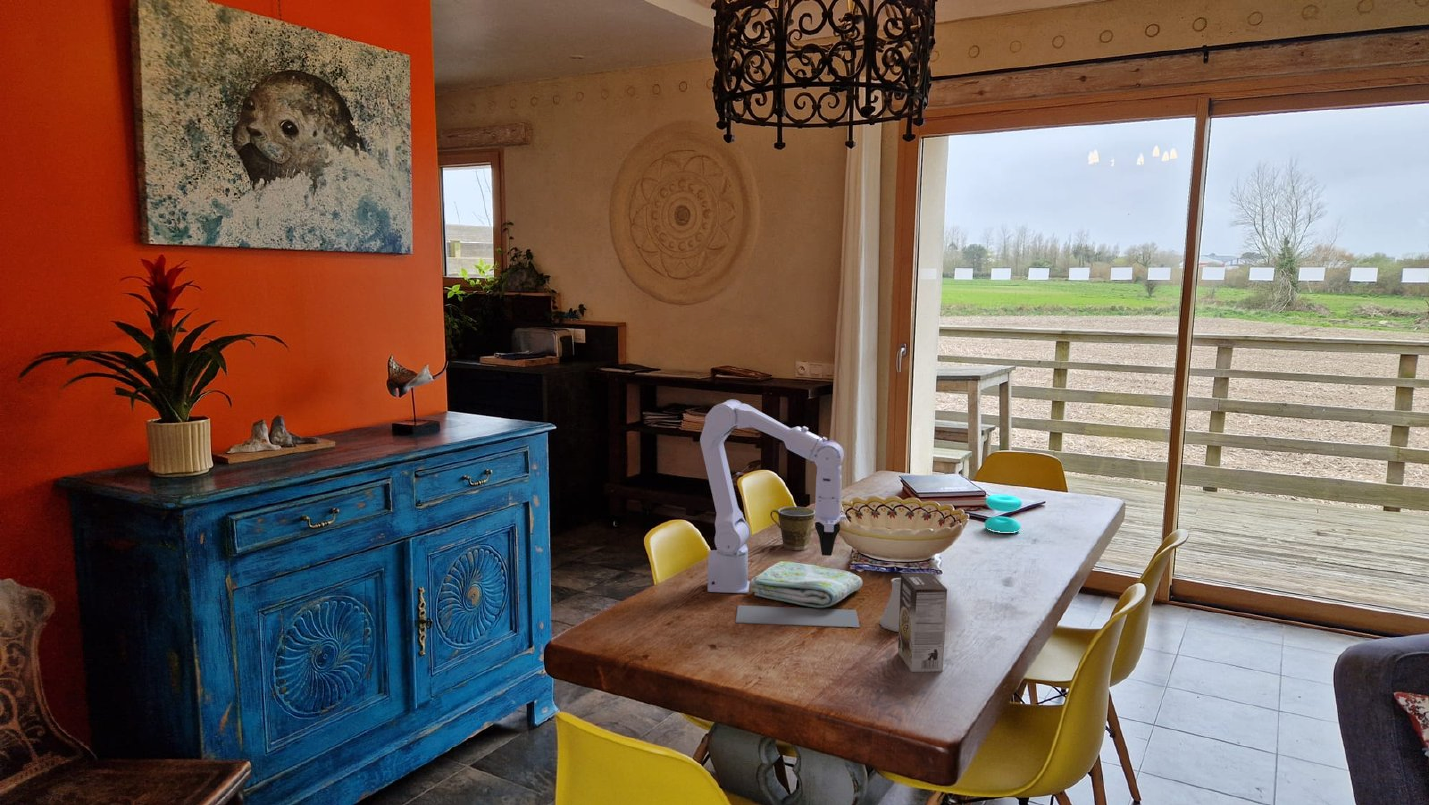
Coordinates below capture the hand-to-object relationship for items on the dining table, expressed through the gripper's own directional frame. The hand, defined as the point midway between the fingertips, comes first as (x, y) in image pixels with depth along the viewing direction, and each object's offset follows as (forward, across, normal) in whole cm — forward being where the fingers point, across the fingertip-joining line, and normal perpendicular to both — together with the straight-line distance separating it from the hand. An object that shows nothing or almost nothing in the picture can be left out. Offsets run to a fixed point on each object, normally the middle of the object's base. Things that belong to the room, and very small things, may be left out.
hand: (826, 554), depth 204 cm
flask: (+11, -15, -14) cm, 23 cm away
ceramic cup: (+11, +41, +8) cm, 43 cm away
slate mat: (+10, -12, +6) cm, 17 cm away
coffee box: (+10, -33, -17) cm, 38 cm away
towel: (+10, +3, +4) cm, 12 cm away
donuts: (+10, +64, -54) cm, 85 cm away
